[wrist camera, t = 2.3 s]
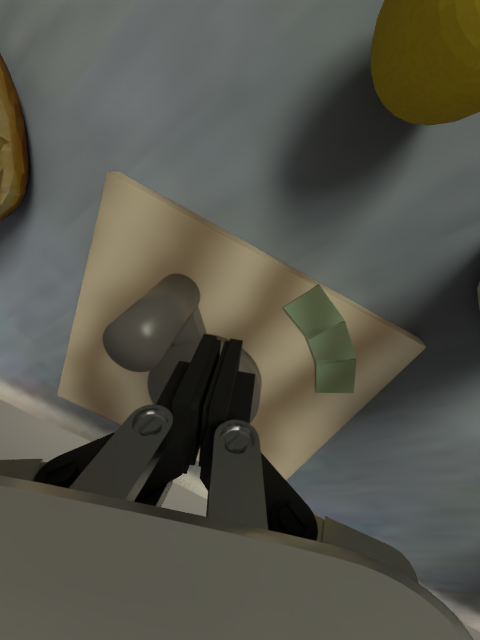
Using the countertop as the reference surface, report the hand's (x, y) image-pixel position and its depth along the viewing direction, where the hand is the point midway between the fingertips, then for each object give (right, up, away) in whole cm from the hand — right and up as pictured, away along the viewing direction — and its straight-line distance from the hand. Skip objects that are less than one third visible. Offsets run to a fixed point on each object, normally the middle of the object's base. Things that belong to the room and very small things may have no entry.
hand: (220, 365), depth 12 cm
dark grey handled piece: (-1, -3, +10) cm, 10 cm away
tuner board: (-1, -2, +11) cm, 11 cm away
